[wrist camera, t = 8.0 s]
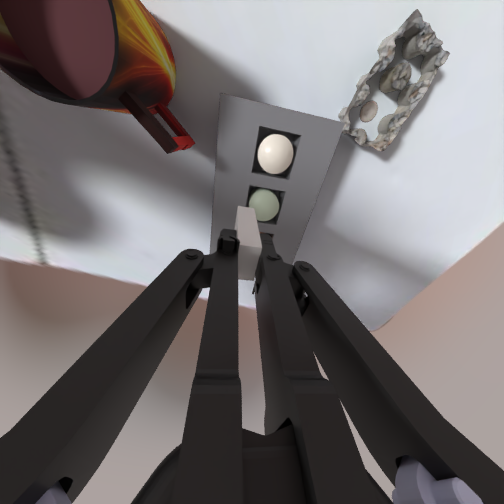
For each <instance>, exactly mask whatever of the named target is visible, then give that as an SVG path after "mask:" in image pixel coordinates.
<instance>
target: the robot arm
mask: <svg viewBox="0 0 504 504" xmlns="http://www.w3.org/2000/svg"><path fill="white" fill-rule="evenodd" d="M254 278H256V281H255V284H254V288H253V292H252V294H254V292H255V299H256V309H257V319H258V330H259V340H260V350H261V359H262V360H261V361H262V371H263V381H264V392H265V403H266V409H265V418H264V419H265V420H264V427H265V435H261V434H257V433H255V432H252V431H249V430H246V429H243V428H242V400H241V399H242V398H241V397H242V396H241V381H240V378H239V372H238V279H241V280H252V281H254ZM208 287H210V292H209V297H208V304H207V309H206V315H205V321H204V327H203V333H202V338H201V344H200V350H199V355H198V361H197V367H196V373H195V377H194V380H193V384H192V389H191V394H190V399H189V405H188V411H187V417H186V422H185V428H184V433H183V439H182V443H181V444H180V445H179V446H178V447H176V448H175V449H174V450H173V451H172V452H171V453H170V454H169V455H167V456H166V458H165V459H164V460H163V461H162V462H161V463H160V464H159V466H158V467H157V468H156V469H155V471H154V472H153V474H152V475H151V476H150V478H149V479H148V481H147V482H146V483H145V485H144V486H143V488H142V489H141V490H140V491H139V493H138V494H137V496H136V497H135V498H134V500H133V501H132V503H131V504H504V471H503V470H502V469H501V468H500V467H499V466H498V465H497V464H495V463H494V462H493V461H492V460H491V459H490V458H489V457H487V456H486V455H485V454H484V453H483V452H482V451H481V450H479V449H478V448H477V447H476V446H475V445H474V444H473V443H472V442H470V441H469V440H468V439H467V438H466V437H465V436H464V435H462V434H461V433H460V432H459V431H458V430H457V429H456V428H455V427H453V426H452V425H451V424H450V423H449V422H448V421H447V420H445V419H444V418H443V416H442V415H441V414H440V413H439V412H438V411H437V409H436V408H435V407H434V406H433V405H432V404H431V403H430V401H429V400H428V399H427V398H426V397H425V396H424V395H423V393H422V392H421V391H420V390H419V389H418V387H417V386H416V385H415V384H414V383H413V382H412V381H411V379H410V378H409V377H408V376H407V375H406V374H405V373H404V371H403V370H402V369H401V368H400V367H399V365H398V364H397V363H396V362H395V361H394V360H393V359H392V357H391V356H390V355H389V354H388V353H387V352H386V350H385V349H384V348H383V347H382V346H381V345H380V344H379V342H378V341H377V340H376V339H375V338H374V337H373V335H372V334H371V333H370V332H369V331H368V330H367V328H366V327H365V326H364V325H363V324H362V323H361V321H360V320H359V319H358V318H357V317H356V316H355V315H354V313H353V312H352V311H351V310H350V309H349V308H348V306H347V305H346V304H345V303H344V302H343V301H342V299H341V298H340V297H339V296H338V295H337V294H336V293H335V291H334V290H333V289H332V288H331V287H330V286H329V284H328V283H327V282H326V281H325V280H324V279H323V277H322V276H321V275H320V274H319V273H318V272H317V271H316V269H315V268H314V267H313V266H312V265H311V264H309V263H307V262H304V261H297V262H295V264H294V265H290V264H287V263H285V262H283V259H282V257H281V256H280V255H279V254H277V253H276V250H275V247H274V244H273V240H272V237H271V236H270V235H269V234H264V233H259V229H258V224H257V219H256V214H255V209H254V208H249V207H242V206H238V209H237V215H236V222H235V229H234V230H232V229H222V230H221V231H220V237H219V238H218V241H217V251H216V252H215V253H213V254H209V255H204V254H203V253H202V252H201V251H199V250H197V249H187V250H184V251H182V252H181V253H180V254H179V255H178V256H177V257H176V258H175V259H174V260H173V261H172V262H171V263H170V264H169V265H168V266H167V267H166V268H165V269H164V270H163V271H162V272H161V274H160V275H159V276H158V277H157V278H156V279H155V280H154V281H153V282H152V283H151V284H150V285H149V286H148V287H147V288H146V289H145V290H144V291H143V292H142V293H141V295H140V296H138V298H137V299H136V300H135V301H134V302H133V303H132V304H131V305H130V306H129V307H128V308H127V309H126V310H125V311H124V312H123V313H122V314H121V315H120V316H119V317H118V318H117V319H116V320H115V322H114V323H113V324H112V325H111V326H110V327H109V328H108V329H107V330H106V331H105V332H104V333H103V334H102V335H101V336H100V337H99V338H98V339H97V340H96V341H95V342H94V343H93V344H92V345H91V347H90V348H89V349H88V350H87V351H86V352H85V353H84V354H83V355H82V356H81V357H80V358H79V359H78V360H77V361H76V362H75V363H74V364H73V365H72V366H71V367H70V368H69V369H68V370H67V372H66V373H65V374H64V375H63V376H62V377H61V378H60V379H59V380H58V381H57V382H56V383H55V384H54V385H53V386H52V387H51V388H50V389H49V390H48V391H47V393H46V394H44V396H43V397H42V398H41V399H40V400H39V401H38V402H37V403H36V404H35V405H34V406H33V407H32V408H31V409H30V410H29V411H28V412H27V413H26V414H25V415H24V416H23V417H22V418H21V420H20V421H19V422H18V423H17V424H16V425H15V426H14V427H13V428H12V429H11V430H10V431H9V432H7V433H6V434H5V435H4V436H2V437H1V438H0V504H72V503H73V502H74V500H75V499H76V497H78V495H79V494H80V493H81V491H82V490H83V488H84V487H85V486H86V484H87V483H88V481H89V480H90V479H91V477H92V476H93V474H94V473H95V472H96V470H97V469H98V467H99V466H100V464H101V463H102V461H103V459H104V458H105V456H106V455H107V453H108V451H109V450H110V448H111V446H112V445H113V443H114V442H115V440H116V438H117V436H118V435H119V433H120V431H121V430H122V428H123V426H124V424H125V422H126V421H127V419H128V417H129V416H130V414H131V412H132V410H133V409H134V407H135V405H136V403H137V402H138V400H139V398H140V397H141V395H142V393H143V391H144V390H145V388H146V386H147V384H148V383H149V381H150V379H151V378H152V376H153V374H154V372H155V371H156V369H157V367H158V365H159V364H160V362H161V360H162V359H163V357H164V355H165V353H166V352H167V350H168V348H169V346H170V345H171V343H172V341H173V340H174V338H175V336H176V334H177V333H178V331H179V329H180V327H181V326H182V324H183V322H184V320H185V319H186V317H187V315H188V314H189V312H190V310H191V308H192V306H193V305H194V303H195V301H196V300H197V298H198V296H199V294H200V293H201V291H202V288H208ZM305 292H306V293H307V295H308V297H306V296H305V294H304V293H305ZM313 352H314V353H313ZM314 354H315V355H316V357H317V359H318V361H319V363H320V364H321V366H322V368H323V370H324V372H325V373H326V375H327V377H328V379H329V380H327V379H325V378H323V376H322V375H321V373H320V371H319V368H318V365H317V362H316V359H315V356H314ZM340 401H341V402H342V404H343V406H344V407H345V410H346V411H347V413H348V415H349V417H350V419H351V420H352V422H353V424H354V426H355V428H356V429H357V431H358V433H359V435H360V436H361V438H362V440H363V441H364V443H365V445H366V446H367V448H368V450H369V452H370V453H371V455H372V456H373V457H374V459H375V460H376V462H377V463H378V465H379V466H380V468H381V469H382V471H383V472H384V473H385V475H386V476H387V477H388V478H389V480H390V481H391V482H392V484H393V485H394V486H395V488H396V489H394V490H393V492H392V499H393V502H392V501H391V500H390V498H389V497H388V496H387V495H386V494H385V492H384V491H383V490H382V489H381V487H380V486H379V485H378V484H377V482H376V481H375V480H374V479H373V478H372V476H371V475H370V474H369V473H368V472H367V470H366V469H365V467H364V464H363V462H362V459H361V456H360V453H359V451H358V448H357V445H356V443H355V440H354V437H353V434H352V432H351V429H350V426H349V424H348V421H347V418H346V416H345V413H344V411H343V408H342V405H341V402H340Z"/></svg>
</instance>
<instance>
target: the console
mask: <svg viewBox="0 0 504 504" xmlns="http://www.w3.org/2000/svg"><path fill="white" fill-rule="evenodd" d="M344 125H345V123H343V122H339V121H335V120H331V119H327V118H323V117H319V116H314V115H310V114H306V113H302V112H298V111H294V110H290V109H285V108H281V107H277V106H273V105H269V104H265V103H261V102H256V101H252V100H248V99H244V98H240V97H236V96H232V95H227V94H223V93H220V106H219V121H218V136H217V151H216V166H215V181H214V197H213V212H212V227H211V242H210V254H213V253H215V252H216V251H217V241H218V238H219V237H220V231H221V230H222V229H232V230H234V229H235V222H236V215H237V209H238V206H242V207H249V201H248V199H249V195H250V193H251V191H252V190H253V189H254V188H256V187H262V188H268V189H272V190H273V191H274V193H275V195H276V197H277V199H278V202H279V210H278V212H277V214H276V215H275V216H274V217H273V218H272V219H270V220H268V221H259V220H257V224H258V229H259V232H264V233H266V234H269V235H270V236H271V237H272V240H273V244H274V247H275V250H276V253H277V254H279V255H280V256H281V257H282V259H283V262H285V263H287V264H290V265H292V263H293V260H294V258H295V255H296V252H297V250H298V247H299V244H300V242H301V239H302V236H303V234H304V231H305V228H306V226H307V223H308V221H309V218H310V215H311V213H312V210H313V207H314V205H315V202H316V199H317V197H318V194H319V191H320V189H321V186H322V183H323V181H324V178H325V176H326V173H327V170H328V168H329V165H330V162H331V160H332V157H333V154H334V152H335V149H336V146H337V144H338V141H339V139H340V136H341V133H342V131H343V128H344ZM269 134H279V135H283V136H285V137H286V138H287V139H288V140H289V141H290V142H291V144H292V147H293V158H292V161H291V164H290V165H289V167H288V168H287V169H286V170H285V171H283V172H281V173H278V174H271V173H268V172H266V171H265V170H264V169H263V168H262V167H261V165H260V163H259V161H258V159H257V147H258V144H259V142H260V141H261V140H262V139H263V138H264V137H265V136H267V135H269Z"/></svg>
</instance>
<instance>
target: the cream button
mask: <svg viewBox="0 0 504 504" xmlns="http://www.w3.org/2000/svg"><path fill="white" fill-rule="evenodd" d="M292 158H293V147H292V144H291V142H290V141H289V140H288V139H287V138H286V137H285V136H283V135H279V134H269V135H267V136H265V137H264V138H263V139H262V140H261V141H260V142H259V144H258V147H257V159H258V161H259V163H260V165H261V167H262V168H263V169H264V170H265V171H266V172H268V173H271V174H278V173H281V172H283V171H285V170H286V169H287V168H288V167H289V165H290V164H291V161H292Z"/></svg>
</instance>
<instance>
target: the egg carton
mask: <svg viewBox="0 0 504 504" xmlns="http://www.w3.org/2000/svg"><path fill="white" fill-rule="evenodd" d="M402 36H403V37H404V38H405V41H404V43H403V46H402V56H403V58H404V59H407V60H408V59H412V58H414V57H416V56H418V55H421V54H422V55H423V56H424V59H423V61H422V64H421V67H420V72H421V77H420V79H419V80H418V82H417V83H414V84H411V85H408V86H406V84H407V83H408V81H409V79H410V77H411V67H410V63H409V62H406V63H401V64H399V65H397V66H395V67H392V68H390V69H388V70H387V71H385V72H384V74H383V75H382V77H381V79H380V84H379V88H380V90H381V92H383V93H388V92H392V91H396V90H402V91H401V92H400V94H399V96H398V105H399V106H398V108H397V109H396V111H395V113H394V114H390V115H387V116H385V117H383V118H382V119H381V121H380V122H379V125H378V133H379V135H378V136H377V138H376V139H375V140H374V141H368V142H366V143H365V141H366V138H367V135H366V132H365V130H363V129H350V130H349V127H350V121H349V116H348V115H349V111H350V110H351V109H352V108H353V107H357V106H360V105H361V104H362V103H363V102H364V100H365V99H366V97H367V96H368V95H369V94H370V91H369V90H370V86H369V85H367V84H366V81H367V80H369V79H370V78H371V77H372V75H373V74H375V73H377V72H382V71H383V70H384V69H385V68H386V67H387V66H388V65H389V64H390V63H391V62H392V60H393V58H394V54H395V50H394V48H395V47H396V45H395V42H394V41H395V40H396V39H398V38H400V37H402ZM442 44H443V42H442V41H441V40H439V39H438V38H436V35H435V32H434V31H433V30H432V29H431V26H430V23H427V22H424V21H423V19H422V15H421V13H420V12H419V10H418V9H417V10H415V11H414V12H413V13H412V14H411V15H410V16H409V18H408V19H407V20H406V21H405V22H404V23H403V24H402V26H401V27H400V28H399V29H398V31H396V32H395V33H393V34H392V35H390V36H388V37H386V38H385V39H384V40H383V41H382V43H381V44H380V46H379V48H378V50H377V51H378V53H379V60H378V61H377V62H376V63H375V65H374V66H373V67H372V69H371V70H370V72H369V73H368V74H366V75H363V76H362V77H361V78H360V80H359V81H358V83H357V85H356V87H357V91H356V93H355V95H354V97H353V99H352V101H351V103H350V105H349V107H345V108H343V109H342V110H341V111H340V113H339V115H338V117H339V118H340V121H341V122H343V123H345V125H344V128H343V131H342V133H343V134H350V135H352V136H356V137H355V139H354V140H355V141H356V142H357V143H358V144H359V145H361V146H366V147H371V146H372V147H373V148H374V149H376V150H378V151H380V152H381V151H384V150H385V149H386V147H387V146H388V145H390V144H391V142H392V141H393V139H394V138H395V137H396V136H397V134H398V133H399V131H400V129H401V125H402V124H403V123H404V121H405V120H406V119H407V118H408V117H409V116H410V114H411V111H412V110H413V109H414V108H415V106H416V105H417V103H418V102H419V101H420V100H421V99H422V98H423V96H424V95H425V93H426V91H427V89H428V88H429V86H430V84H431V82H432V80H433V78H434V77H435V75H436V72H437V70H438V68H439V67H440V66H442V65H443V64H444V63H445V61H446V60H447V58H448V56H449V54H450V53H449V52H448V51H444V50H443V49H442V47H441V45H442ZM377 109H378V107H377V103H376V102H374V101H369V102H367V103H366V104H365V105H364V106H363V107H362V109H361V111H360V119H361V121H363V122H369V121H371V120H372V119H373V118H374V117H375V115H376V113H377Z"/></svg>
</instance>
